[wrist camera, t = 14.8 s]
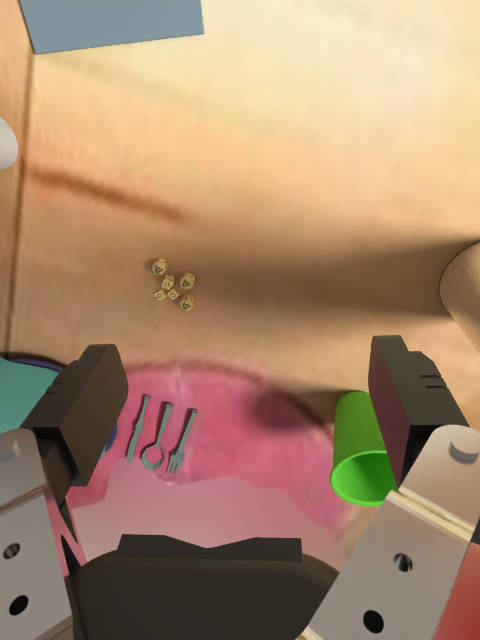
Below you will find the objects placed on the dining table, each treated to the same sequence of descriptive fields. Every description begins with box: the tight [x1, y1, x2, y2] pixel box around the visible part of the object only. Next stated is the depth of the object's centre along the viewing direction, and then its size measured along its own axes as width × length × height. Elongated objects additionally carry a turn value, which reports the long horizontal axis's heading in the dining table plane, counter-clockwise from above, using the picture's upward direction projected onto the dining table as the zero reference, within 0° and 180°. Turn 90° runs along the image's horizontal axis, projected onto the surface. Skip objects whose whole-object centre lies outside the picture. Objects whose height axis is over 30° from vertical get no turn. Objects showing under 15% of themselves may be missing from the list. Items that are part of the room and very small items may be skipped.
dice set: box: [151, 258, 195, 312], centre depth 43 cm, size 5×5×2 cm
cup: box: [329, 391, 398, 506], centre depth 45 cm, size 9×9×11 cm
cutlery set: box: [0, 356, 198, 474], centre depth 55 cm, size 20×30×2 cm, turn 72°
